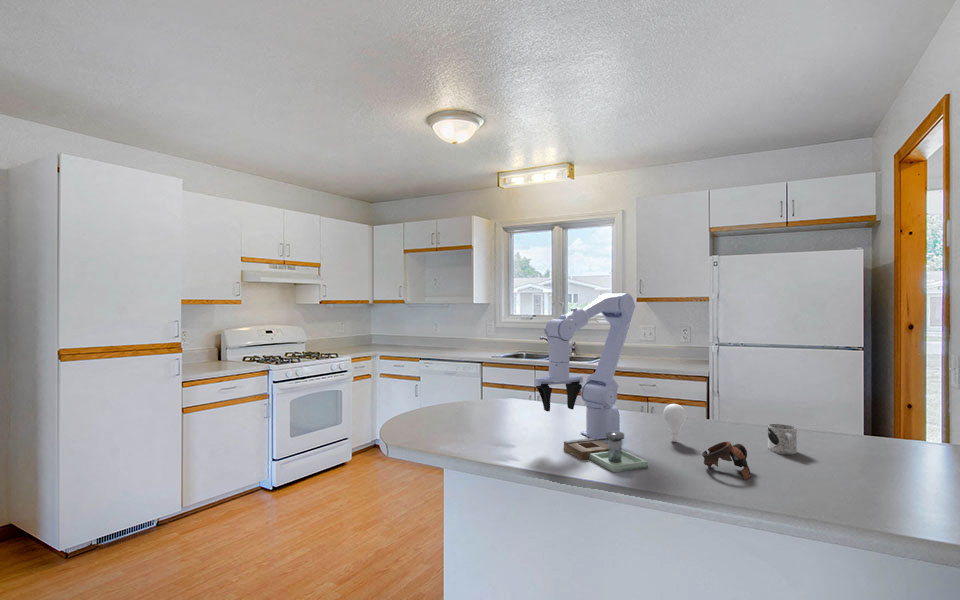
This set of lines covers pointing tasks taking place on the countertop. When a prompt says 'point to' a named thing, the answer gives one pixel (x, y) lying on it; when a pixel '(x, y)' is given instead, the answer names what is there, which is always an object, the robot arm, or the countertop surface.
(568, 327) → the robot arm
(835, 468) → the countertop surface
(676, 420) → the lightbulb
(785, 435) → the mug
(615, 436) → the pin
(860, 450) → the countertop surface
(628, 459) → the tray
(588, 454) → the block
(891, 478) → the countertop surface
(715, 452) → the brown curved strap
